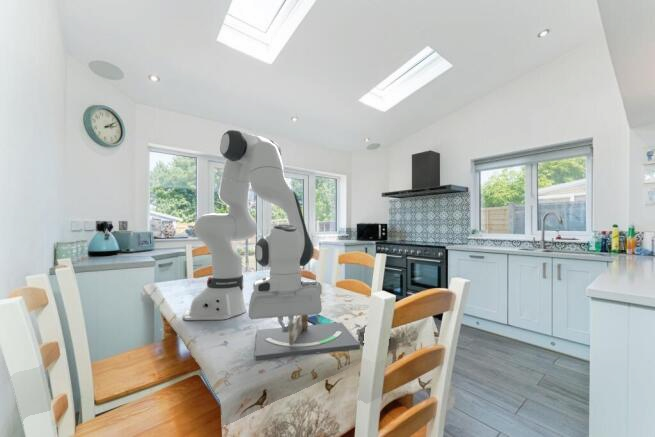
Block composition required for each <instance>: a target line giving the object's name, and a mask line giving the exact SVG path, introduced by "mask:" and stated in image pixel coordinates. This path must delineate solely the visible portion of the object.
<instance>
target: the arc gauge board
mask: <svg viewBox="0 0 655 437" xmlns="http://www.w3.org/2000/svg"><path fill="white" fill-rule="evenodd" d="M255 342H256V344H255V354H254V355H255V356H254V357H255V358H254V360H255V361H257V360H265V359H267V360H268V359H274V358H275V359H276V358H283V357H290V356H299V355H300V356H301V354H302V355H308V354H310V353H311V354H317V352H320V353H328V352H327V351H329V352H335V351H344V350H355V349H360V347H361V343H360V342H359V341H358V339H357V340H356V338H355V337H354V335H353V334H352V333H351V332H350V331H349V329H348V328H347V327H346V325H345V324H344V323H343V322H337V323H329V324H318V325H313V324H310V325H309V324H308V328H307V329H302V330H301V332H300V333H299V335H298V337H297V338H296V340H295V341H294V343H293V344H292V345H289V332H285V333H282V327H275V328H273V327H272V328H263V329H257V330H256V340H255Z"/></svg>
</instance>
